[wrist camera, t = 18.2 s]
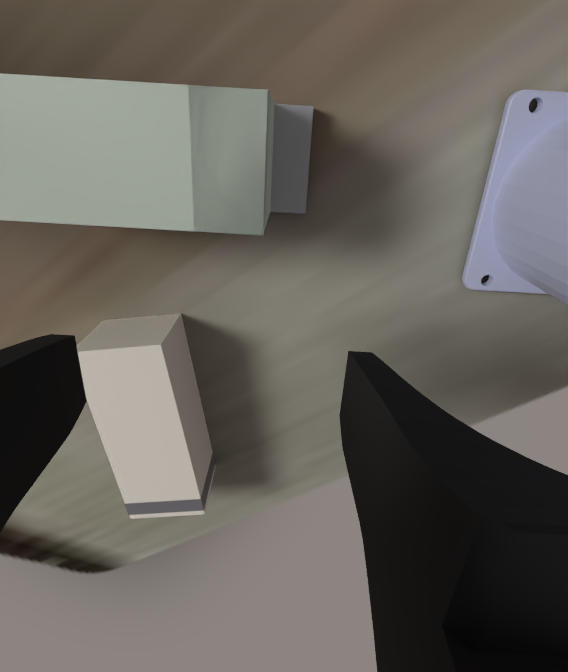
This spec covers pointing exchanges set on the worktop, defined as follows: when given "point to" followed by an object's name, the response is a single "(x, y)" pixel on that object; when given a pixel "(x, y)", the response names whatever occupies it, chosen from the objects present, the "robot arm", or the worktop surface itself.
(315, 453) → the worktop surface
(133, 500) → the bar
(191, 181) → the pale green block
